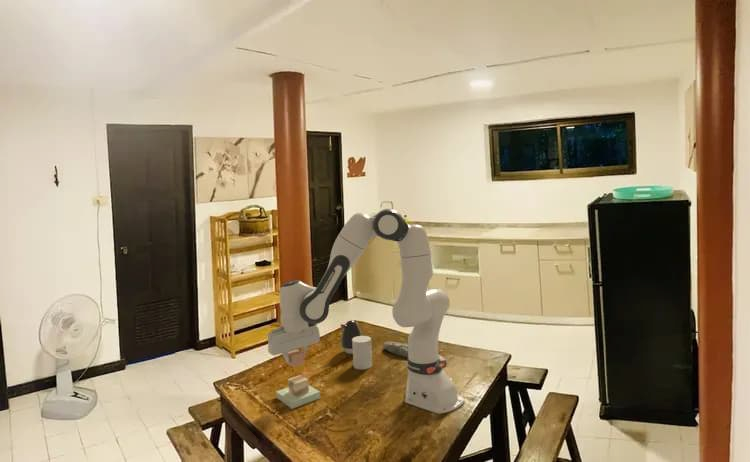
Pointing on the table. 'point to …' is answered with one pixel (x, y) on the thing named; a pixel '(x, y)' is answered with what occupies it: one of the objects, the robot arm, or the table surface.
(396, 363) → the table surface
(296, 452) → the table surface
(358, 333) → the pump dispenser
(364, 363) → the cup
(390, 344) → the elongated rock
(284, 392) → the sage base
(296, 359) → the terracotta block
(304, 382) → the beech block
